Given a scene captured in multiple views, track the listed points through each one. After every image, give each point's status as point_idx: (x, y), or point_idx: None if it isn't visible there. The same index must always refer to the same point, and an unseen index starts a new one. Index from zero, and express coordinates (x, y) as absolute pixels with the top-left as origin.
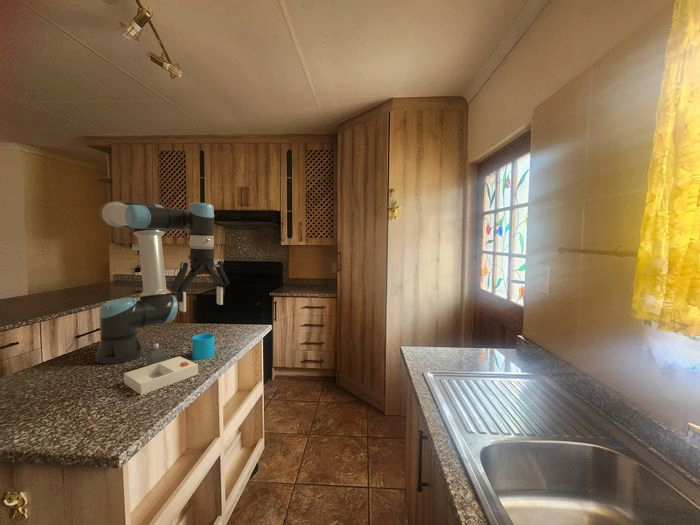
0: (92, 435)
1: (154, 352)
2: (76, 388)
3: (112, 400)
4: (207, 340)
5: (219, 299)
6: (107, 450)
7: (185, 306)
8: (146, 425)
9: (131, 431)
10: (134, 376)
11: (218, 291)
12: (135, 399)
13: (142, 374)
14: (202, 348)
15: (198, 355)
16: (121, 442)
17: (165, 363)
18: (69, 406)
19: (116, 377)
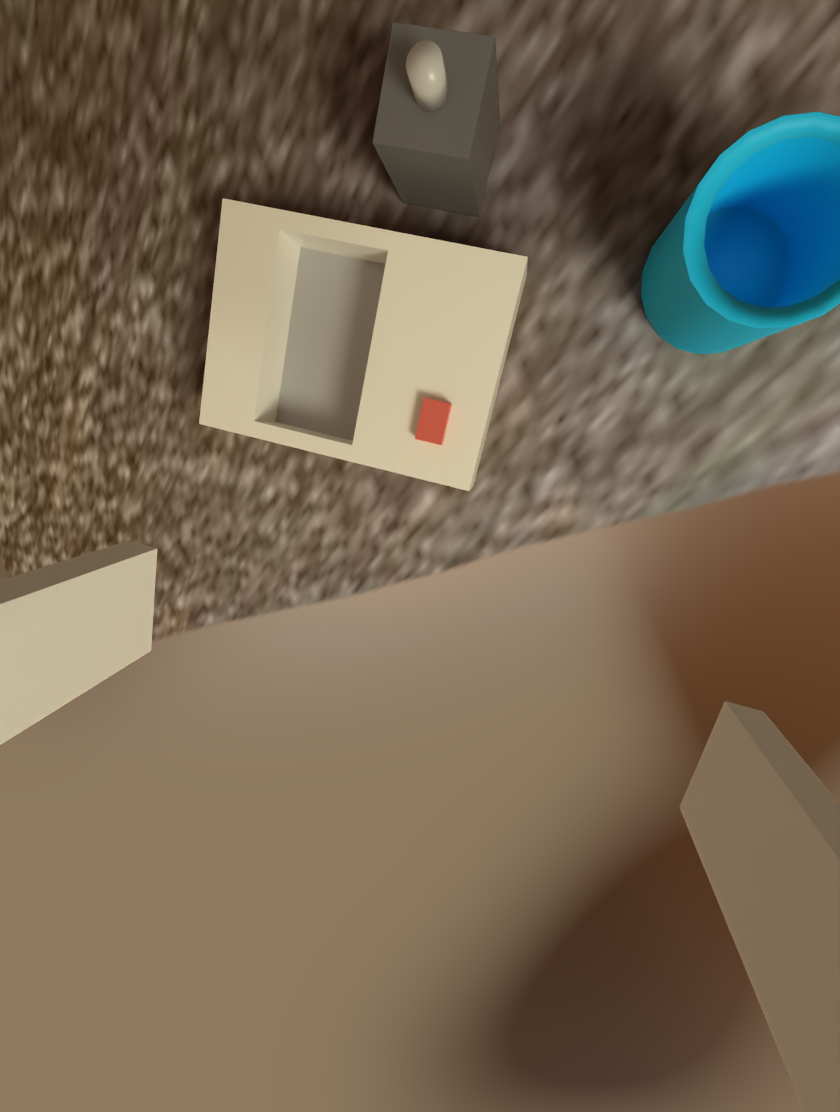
0: (41, 523)
1: (390, 147)
2: (122, 47)
3: (154, 352)
4: (729, 325)
5: (726, 843)
6: None
7: (88, 681)
8: None
9: None
10: (228, 301)
11: (837, 989)
12: (200, 434)
13: (259, 317)
14: (678, 314)
15: (650, 300)
16: None
17: (404, 289)
18: (56, 237)
19: (270, 93)
